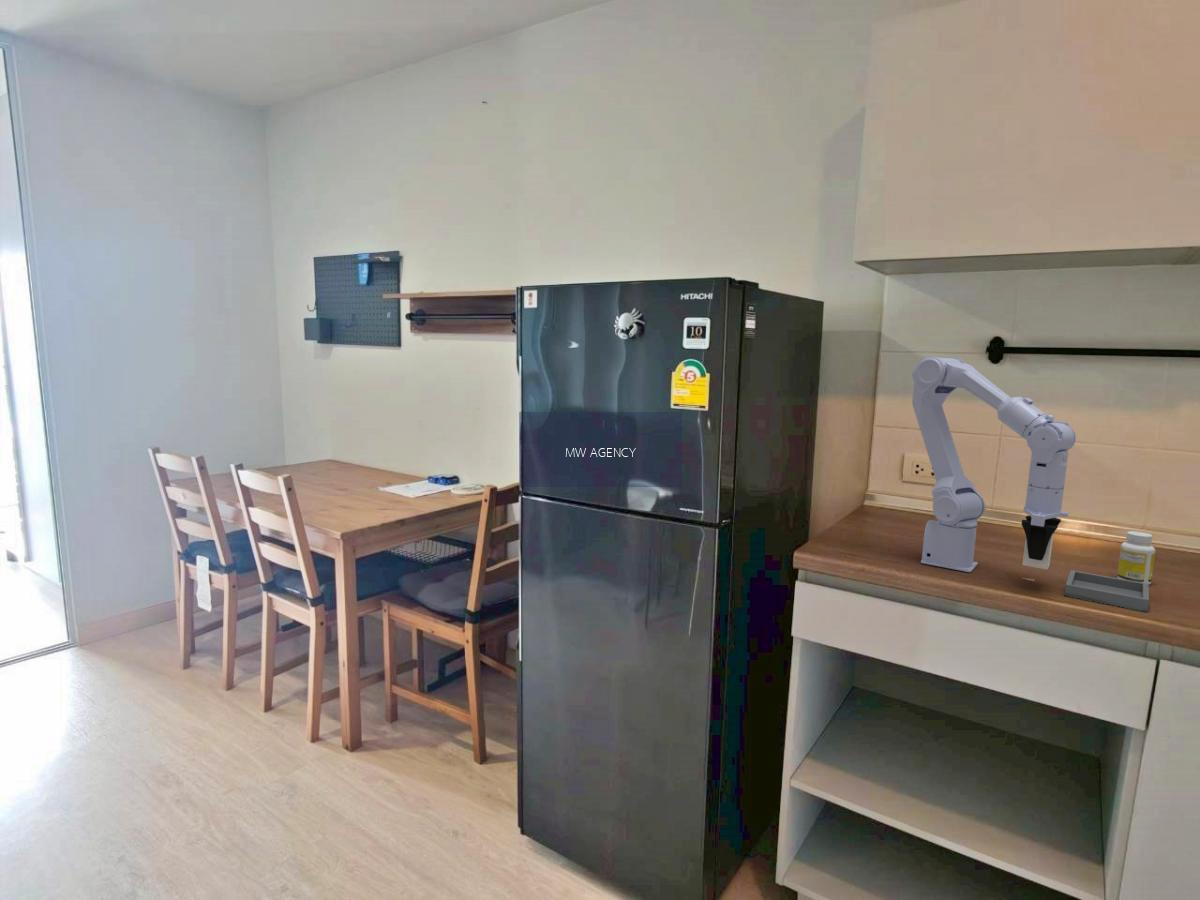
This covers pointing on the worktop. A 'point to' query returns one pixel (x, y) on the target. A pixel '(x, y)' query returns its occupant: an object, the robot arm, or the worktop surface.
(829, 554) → the worktop surface
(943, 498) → the robot arm
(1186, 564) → the worktop surface
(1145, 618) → the worktop surface
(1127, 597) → the tray
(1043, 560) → the light grey tall block
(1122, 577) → the supplement bottle
